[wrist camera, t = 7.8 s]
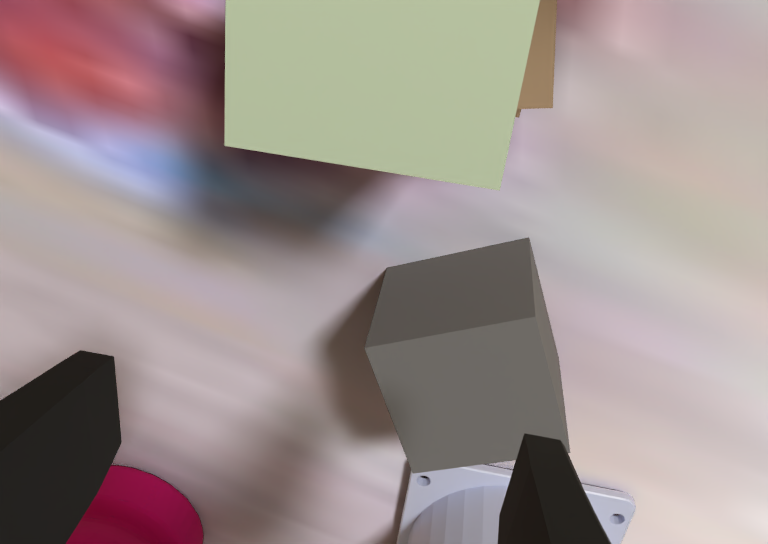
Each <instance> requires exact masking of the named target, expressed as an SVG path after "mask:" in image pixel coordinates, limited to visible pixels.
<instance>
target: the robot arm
mask: <svg viewBox="0 0 768 544" xmlns="http://www.w3.org/2000/svg"><path fill="white" fill-rule="evenodd" d="M120 444H121V432H120V420H119V409H118V397H117V386H116V375H115V363H114V357H113V356H108V355H102V354H97V353H92V352H86V351H81V350H80V351H79V352H77V353H75V354H74V355H72V356H70V357H69V358H67V359H65V360H64V361H62V362H61V363H59V364H57V365H56V366H54V367H53V368H51V369H50V370H48V371H46V372H45V373H43V374H42V375H40V376H39V377H37V378H35V379H34V380H32V381H31V382H29V383H28V384H26V385H24V386H23V387H21V388H20V389H18V390H17V391H15V392H13V393H12V394H10V395H8V396H7V397H5V398H4V399H2V400H0V544H66V542H67V541H68V539H69V538H70V536H71V535H72V533H73V531H74V530H75V528H76V527H77V525H78V524H79V522H80V520H81V519H82V517H83V516H84V514H85V513H86V511H87V509H88V508H89V506H90V505H91V503H92V501H93V500H94V498H95V496H96V495H97V493H98V491H99V489H100V487H101V485H102V483H103V481H104V479H105V477H106V475H107V473H108V471H109V468H110V466H111V464H112V462H113V460H114V458H115V455H116V453H117V451H118V449H119V447H120ZM420 476H427V477H428V478H422V477H420ZM635 508H636V507H635V502H634V499H633V497H632V496H631V495H630V494H628V493H625V492H621V491H616V490H611V489H606V488H601V487H596V486H590V485H585V484H581V482H580V480H579V478H578V475H577V473H576V471H575V469H574V466H573V464H572V462H571V460H570V457H569V455H568V453H567V450H566V448H565V446H564V444H563V443H562V442H561V440H558V439H553V438H548V437H542V436H537V435H531V434H526V433H524V436H523V439H522V443H521V446H520V449H519V452H518V456H517V459H516V462H515V465H514V469H513V470H509V469H503V468H498V467H493V466H488V465H483V464H482V465H474V466H467V467H459V468H452V469H444V470H437V471H429V472H422V473H414V474H413V473H412V470H411V473H410V478H409V483H408V488H407V493H406V498H405V503H404V508H403V513H402V518H401V523H400V528H399V533H398V538H397V542H396V544H621V542H622V540H623V538H624V535H625V533H626V531H627V529H628V526H629V524H630V522H631V519H632V517H633V515H634V512H635ZM613 514H620V515H618V516H613Z"/></svg>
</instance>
